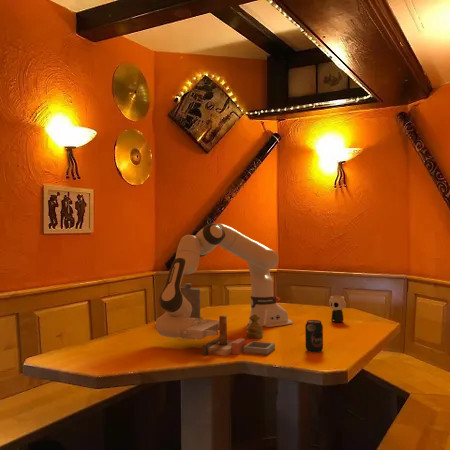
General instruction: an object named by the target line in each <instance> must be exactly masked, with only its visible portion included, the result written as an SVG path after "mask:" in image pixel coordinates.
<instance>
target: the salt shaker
mask: <svg viewBox="0 0 450 450" xmlns="http://www.w3.org/2000/svg"><path fill="white" fill-rule="evenodd" d="M248 318H249V319H250V320H251V321H252V323H251V324H248V326H246V337H247V338H249V339H252V340H253V339H255V340H256V339H261V338H263V336H264V335H263V334H264V331H263V329H264V326H260V324H259V323H258V320H259V319H260V317H259V316H257V315H252V316H249V317H248Z"/></svg>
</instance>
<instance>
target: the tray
mask: <svg viewBox="0 0 450 450" xmlns="http://www.w3.org/2000/svg"><path fill="white" fill-rule="evenodd" d="M275 344H276V343H274V342H266V341H265V342H264V341H253V340H252V341H250V342H248V343H247V344H245V346H244V347H243V352H242V353H243V354H249V355H250V354H251V355H257V356H258V355H259V356H269V355H270V354H271V353H272V352H273V351H274V350H275V349H276V345H275Z"/></svg>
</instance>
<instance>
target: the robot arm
mask: <svg viewBox="0 0 450 450" xmlns="http://www.w3.org/2000/svg"><path fill="white" fill-rule="evenodd" d="M218 246H219V247H221V248H222V249H224V250H226V251H228V252H229V253H231V254H232V255H235V256H236V257H238V258H240V259H242V260H244V261H246V262H247V266H248V271H249V275H250V285H251V287H250V288H251V295H250V301H249V302H250V316H252V315H257V316H259V317H260V319H259V320H258V323H259V324H260V326H262V327H266V328H271V327H278V326H280V327H281V326H288V325H293V324H294V323H293V320H291V319H289V314H288V311H287V310H286V309H284V307H282V306H281V305H279V304H278V303H277V302H279V301H280V300H281V297H278V296H275V295H274V280H273V278H272V276H271V273H270V272H271V271H270V270H273V269H274V268H276V267H278V264H279V261H280V258H279V255H278V253H277V252H276V251H275V250H274V249H272V248H270V247H269V246H266V245H264V244H262V243H260V242H258V241H256V240H254V239H252V238H250V237H248V236H247V235H245V234H243V233H242V232H240V231H238V230H237V229H234V228H233V227H231V226H229V225H226V224H224V223H208V224H206V225H205V226H203V228H201V229H200V230H199V231H198V232H197V233H196V234H195V235H193V234H186V235H184V236H182V237H181V239H180V240H179V243H178V245H177V249H176V254H175V259H174V260H173V261H172V263H171V266H170V267H169V268H170V269H169V271H168V272H169V273H168V274H167V278H166V281H165V282H166V283H165V285H164V288H163V289H162V290H161V293H160V295H159V297H158V303H159V306H160V307H161V308H162V309H163V310H165V312H164V313H163V314H162V315H160V316H158V317H157V318H156V320H155V329H156V331H157V333H158V334H159V335H160V336H162V337H166V338H175V339H176V338H180V339H185V340H202V339H204V338H206V337H212V336H214V337H215V336H218V335H219V331H220V330H219V320H215V319H209V318H204V317H201V316H200V317H199V318H190V316H191V313H192V305H191V304H190V302H189V301H188V300H187V299H186V298H185V297H184V296H183V294H182V292H181V289H180V287H181V285H182V281H183V278H184V275H192V274H194V273H196V271H197V269H198V267H199V264H200V258H202V257H205V256H206V255H207V254H209V253H211V252H213V250H215V248H216V247H218ZM250 316H249V317H250ZM251 323H252V321H251V320H250V319H249V320H248V325H250V324H251Z"/></svg>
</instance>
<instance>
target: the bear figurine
mask: <svg viewBox="0 0 450 450" xmlns="http://www.w3.org/2000/svg"><path fill="white" fill-rule="evenodd" d="M328 305H329V307H330V309H331V310H332V311H331V322H334V323H341V322H344V314H343V313H344V312H343V310H344V309H345V308H346V307H347V301H345V296H342V295H331V296H330V297H329V299H328Z"/></svg>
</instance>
